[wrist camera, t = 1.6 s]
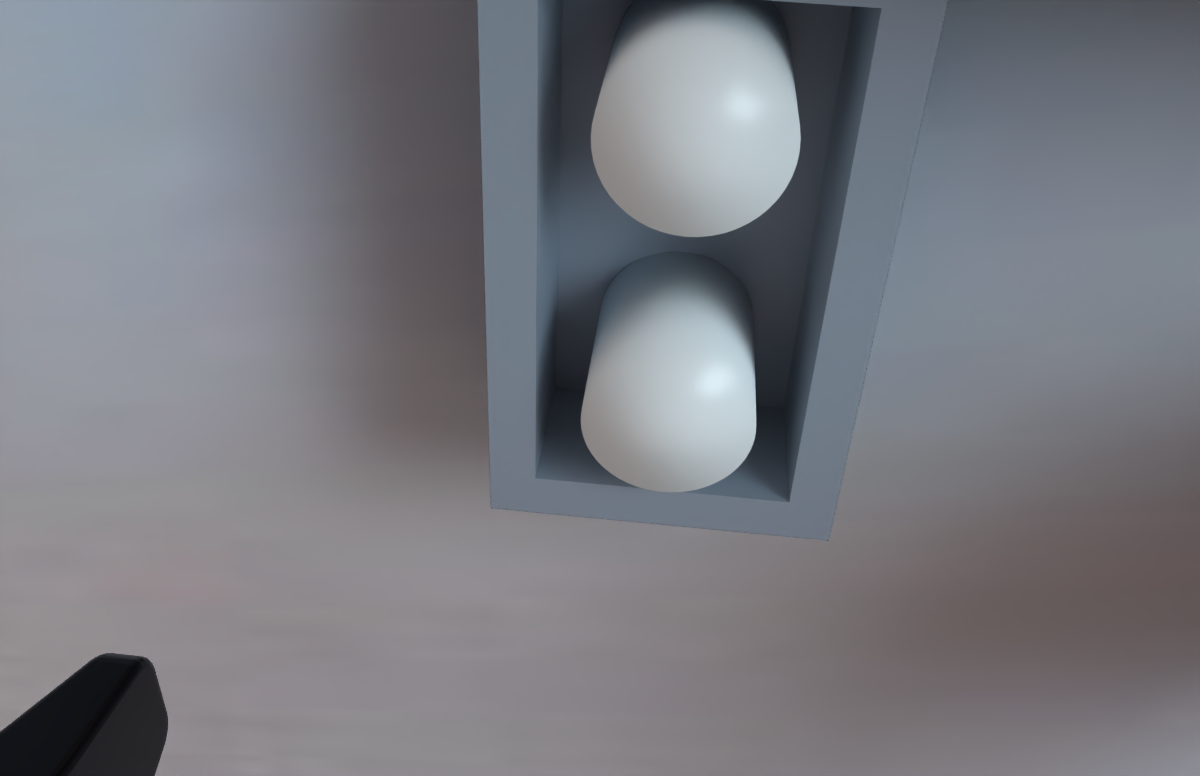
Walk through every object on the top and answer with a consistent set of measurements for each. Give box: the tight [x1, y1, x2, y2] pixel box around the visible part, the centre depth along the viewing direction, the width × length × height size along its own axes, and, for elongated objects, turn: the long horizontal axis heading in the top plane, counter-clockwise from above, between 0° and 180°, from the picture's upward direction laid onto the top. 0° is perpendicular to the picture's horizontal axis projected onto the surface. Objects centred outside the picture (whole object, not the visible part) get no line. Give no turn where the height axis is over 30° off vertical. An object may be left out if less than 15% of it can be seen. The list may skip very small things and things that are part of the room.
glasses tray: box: [477, 0, 948, 541], centre depth 18 cm, size 10×6×4 cm, turn 178°
